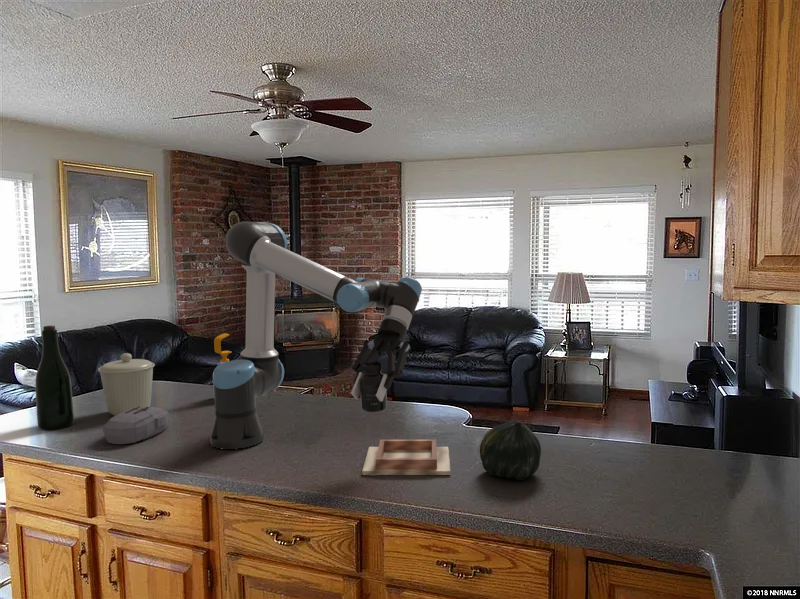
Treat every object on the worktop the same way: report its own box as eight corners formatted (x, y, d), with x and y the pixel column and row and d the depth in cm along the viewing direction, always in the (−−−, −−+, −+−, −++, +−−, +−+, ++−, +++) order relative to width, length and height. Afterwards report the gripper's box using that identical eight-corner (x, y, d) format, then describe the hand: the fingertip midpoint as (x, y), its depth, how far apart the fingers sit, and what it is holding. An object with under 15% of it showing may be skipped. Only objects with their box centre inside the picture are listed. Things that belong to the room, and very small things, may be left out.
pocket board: (362, 475, 153) (361, 461, 153) (369, 450, 171) (369, 438, 171) (450, 475, 152) (450, 461, 152) (448, 450, 170) (448, 437, 169)
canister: (139, 403, 227) (135, 347, 225) (167, 410, 216) (164, 351, 214) (90, 415, 212) (86, 355, 210) (118, 423, 201) (114, 360, 199)
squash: (476, 440, 162) (482, 409, 151) (533, 442, 161) (543, 411, 150) (479, 491, 152) (485, 462, 141) (539, 493, 152) (550, 464, 141)
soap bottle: (243, 397, 232) (240, 333, 229) (221, 402, 225) (218, 336, 223) (230, 394, 238) (227, 331, 236) (209, 398, 231) (206, 334, 229)
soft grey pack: (137, 425, 200) (91, 445, 181) (136, 400, 199) (89, 417, 180) (177, 428, 196) (134, 448, 177) (176, 402, 195) (133, 420, 176)
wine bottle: (55, 432, 193) (47, 328, 190) (30, 429, 197) (22, 327, 194) (81, 422, 203) (75, 324, 200) (57, 420, 207) (50, 323, 203)
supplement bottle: (360, 406, 163) (359, 361, 162) (386, 404, 164) (384, 360, 163) (361, 413, 157) (359, 367, 155) (387, 411, 157) (386, 365, 156)
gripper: (431, 335, 167) (405, 408, 155) (369, 332, 177) (340, 401, 164) (422, 318, 162) (394, 392, 150) (359, 316, 172) (328, 386, 159)
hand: (366, 397), depth 157 cm, fingers closed on supplement bottle, 7 cm apart
